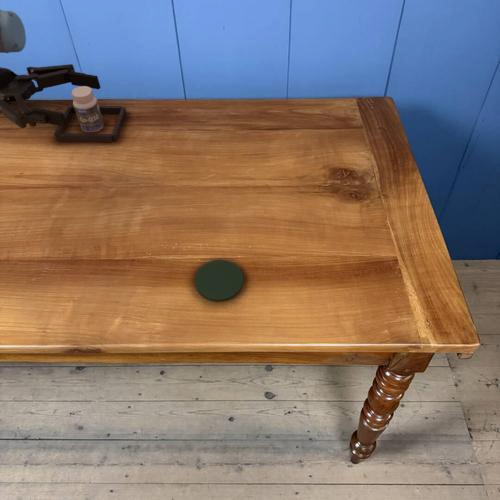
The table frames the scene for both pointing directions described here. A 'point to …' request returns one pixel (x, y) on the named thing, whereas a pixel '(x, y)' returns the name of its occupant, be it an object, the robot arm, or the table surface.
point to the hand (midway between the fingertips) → (82, 100)
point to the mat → (219, 280)
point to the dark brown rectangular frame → (92, 137)
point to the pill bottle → (87, 109)
